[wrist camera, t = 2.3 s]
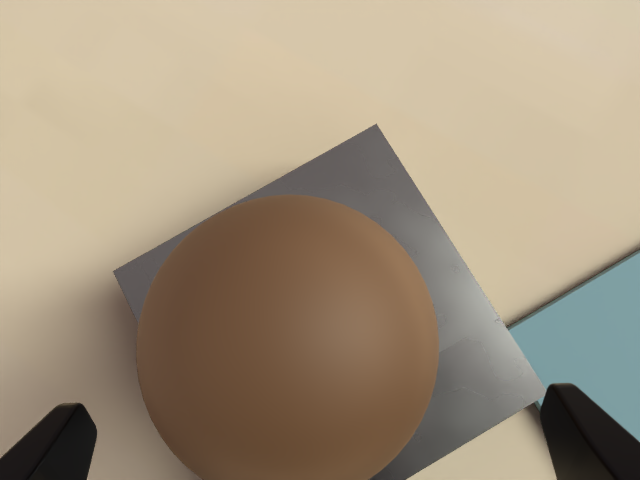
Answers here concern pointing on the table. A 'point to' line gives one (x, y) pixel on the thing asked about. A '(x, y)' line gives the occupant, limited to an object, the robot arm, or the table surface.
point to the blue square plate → (591, 341)
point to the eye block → (442, 283)
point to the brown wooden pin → (287, 344)
